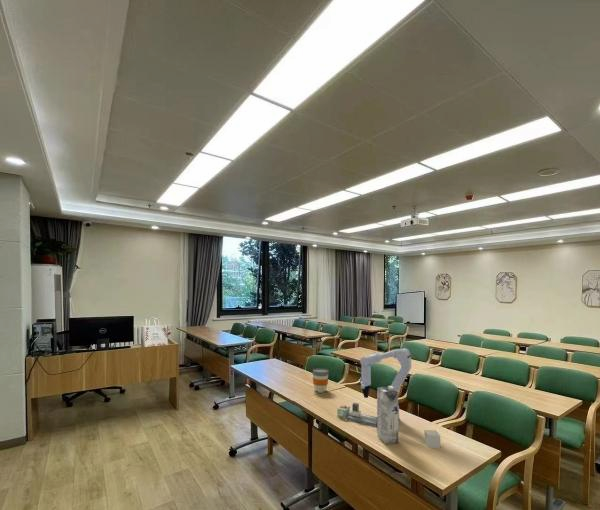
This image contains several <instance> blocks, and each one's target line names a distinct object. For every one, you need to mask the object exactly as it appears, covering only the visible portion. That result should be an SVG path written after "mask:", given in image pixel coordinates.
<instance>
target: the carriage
mask: <svg viewBox="0 0 600 510" xmlns="http://www.w3.org/2000/svg"><path fill="white" fill-rule="evenodd" d="M359 405H360V404H359V403H358V402H353V403H352V405H351V406H352V409H350V412H351V415H353V416H357V417H359V414H362V413H361V412H362V411H361V410H360V409H359V408H360V407H359Z"/></svg>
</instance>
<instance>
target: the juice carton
mask: <svg viewBox="0 0 600 510" xmlns="http://www.w3.org/2000/svg"><path fill="white" fill-rule="evenodd" d="M376 391H377V395H376V396H377V397H376V403H377V405H376V408H377V409H376V410H377V411H376V413H377V414H376V417H377V426H376V429H377V437H378V438H379V439H380V440H381V441H382V442H383V443H384V444H385V445H391V444H398V443H399V420H398V406H399V391H395V390H394V387H392V386H391V385H388V386H381V387H380V386H378V387H377V388H376Z"/></svg>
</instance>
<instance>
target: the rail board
mask: <svg viewBox="0 0 600 510" xmlns="http://www.w3.org/2000/svg"><path fill="white" fill-rule="evenodd" d="M345 419H347V420H346V421H350V420H351V421H350V422H354V421H355V422H354V423H359V424H362V423H363V425H367V426H370V427H371V426H372V427H375V426H376V425H377V416H373V415H368V414H364V413H360V414H359V417H357V416H353V415H351V411H350V412H349V414H348V415H347V416H346V417H345ZM345 419H344V420H345ZM376 427H377V426H376Z"/></svg>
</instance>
